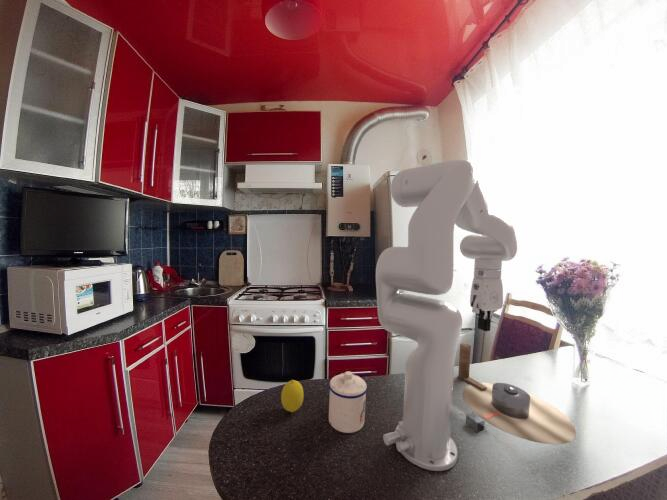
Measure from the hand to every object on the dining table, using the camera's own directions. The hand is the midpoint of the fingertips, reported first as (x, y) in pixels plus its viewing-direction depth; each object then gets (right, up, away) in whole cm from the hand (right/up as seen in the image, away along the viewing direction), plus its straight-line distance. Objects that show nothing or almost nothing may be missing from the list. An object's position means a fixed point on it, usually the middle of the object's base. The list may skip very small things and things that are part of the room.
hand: (483, 329), depth 82 cm
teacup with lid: (-46, -15, -20) cm, 53 cm away
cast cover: (-3, -15, -17) cm, 23 cm away
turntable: (-3, -16, -15) cm, 22 cm away
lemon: (-60, -15, -20) cm, 65 cm away
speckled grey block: (-16, -16, -22) cm, 32 cm away
